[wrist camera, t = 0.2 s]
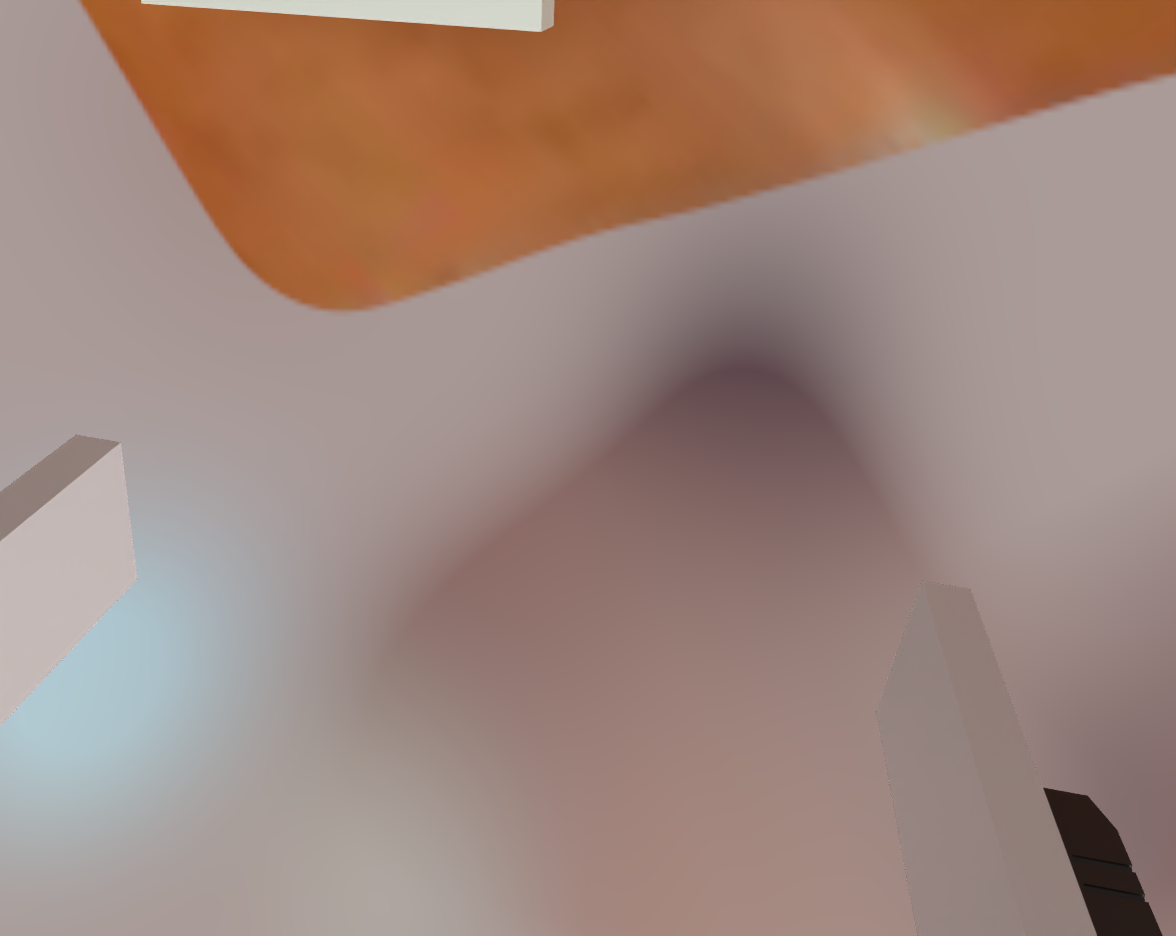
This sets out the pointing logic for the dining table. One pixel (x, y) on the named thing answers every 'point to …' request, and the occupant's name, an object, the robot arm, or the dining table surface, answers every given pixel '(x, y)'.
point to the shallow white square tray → (402, 10)
